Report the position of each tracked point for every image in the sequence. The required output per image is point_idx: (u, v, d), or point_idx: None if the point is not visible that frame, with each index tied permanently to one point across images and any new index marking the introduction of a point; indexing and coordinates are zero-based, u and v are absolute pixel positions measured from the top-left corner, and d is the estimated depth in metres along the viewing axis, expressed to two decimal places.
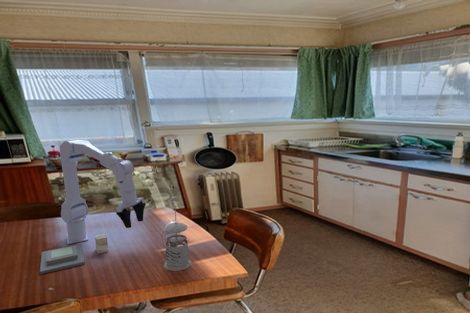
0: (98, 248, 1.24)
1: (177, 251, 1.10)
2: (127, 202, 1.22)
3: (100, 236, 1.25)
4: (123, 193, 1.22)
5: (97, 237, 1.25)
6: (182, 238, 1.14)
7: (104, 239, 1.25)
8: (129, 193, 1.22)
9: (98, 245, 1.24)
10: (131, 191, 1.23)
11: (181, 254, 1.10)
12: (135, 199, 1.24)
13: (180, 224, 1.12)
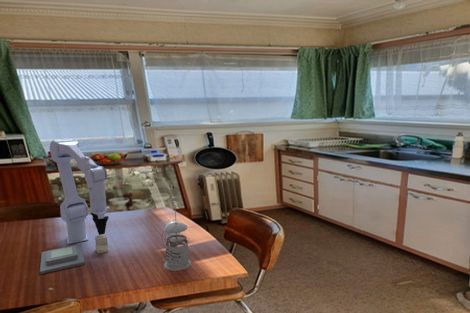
0: (98, 248, 1.24)
1: (177, 251, 1.10)
2: (102, 208, 1.22)
3: (100, 236, 1.25)
4: (98, 200, 1.21)
5: (97, 237, 1.25)
6: (182, 238, 1.14)
7: (104, 239, 1.25)
8: (104, 199, 1.23)
9: (98, 245, 1.24)
10: (105, 197, 1.24)
11: (181, 254, 1.10)
12: None
13: (180, 224, 1.12)
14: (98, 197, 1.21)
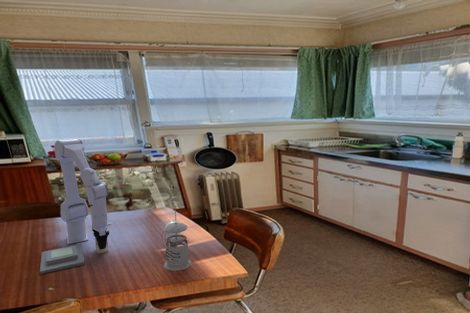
0: (98, 248, 1.24)
1: (177, 251, 1.10)
2: (103, 225, 1.23)
3: None
4: (100, 216, 1.22)
5: None
6: (182, 238, 1.14)
7: None
8: (105, 216, 1.24)
9: None
10: (106, 214, 1.25)
11: (181, 254, 1.10)
12: None
13: (180, 224, 1.12)
14: (99, 214, 1.22)
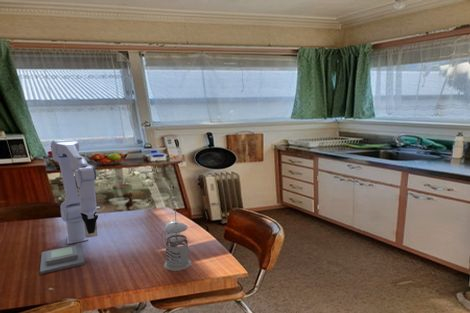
0: (87, 232, 1.21)
1: (177, 251, 1.10)
2: (92, 208, 1.21)
3: None
4: (88, 199, 1.20)
5: None
6: (182, 238, 1.14)
7: None
8: (94, 199, 1.21)
9: None
10: (95, 197, 1.22)
11: (181, 254, 1.10)
12: None
13: (180, 224, 1.12)
14: (86, 197, 1.19)
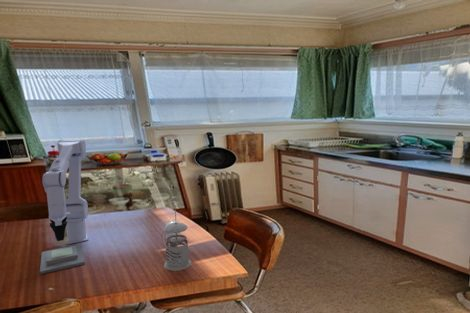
0: None
1: (177, 251, 1.10)
2: (60, 215, 1.16)
3: None
4: (57, 205, 1.15)
5: None
6: (182, 238, 1.14)
7: None
8: (63, 205, 1.16)
9: None
10: (64, 203, 1.17)
11: (181, 254, 1.10)
12: (66, 211, 1.19)
13: (180, 224, 1.12)
14: (50, 203, 1.14)
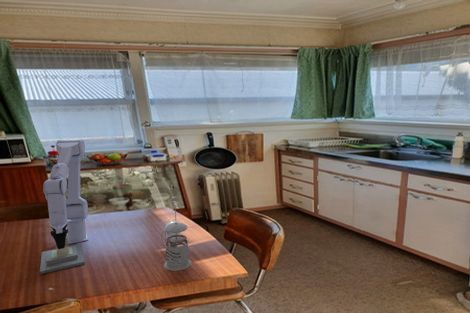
0: (58, 249, 1.17)
1: (177, 251, 1.10)
2: (61, 222, 1.16)
3: None
4: (57, 213, 1.15)
5: None
6: (182, 238, 1.14)
7: None
8: (64, 212, 1.17)
9: None
10: (65, 210, 1.18)
11: (181, 254, 1.10)
12: (67, 218, 1.19)
13: (180, 224, 1.12)
14: (51, 210, 1.14)
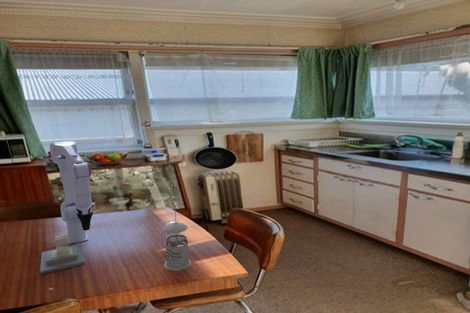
0: (58, 249, 1.17)
1: (177, 251, 1.10)
2: (86, 204, 1.23)
3: (60, 237, 1.18)
4: (83, 195, 1.21)
5: (57, 238, 1.18)
6: (182, 238, 1.14)
7: (64, 240, 1.18)
8: (89, 195, 1.23)
9: (58, 246, 1.17)
10: (90, 193, 1.24)
11: (181, 254, 1.10)
12: (91, 201, 1.26)
13: (180, 224, 1.12)
14: (81, 193, 1.21)
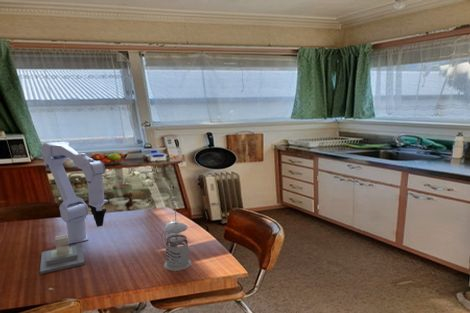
0: (58, 249, 1.17)
1: (177, 251, 1.10)
2: (100, 201, 1.26)
3: (60, 237, 1.18)
4: (97, 193, 1.25)
5: (57, 238, 1.18)
6: (182, 238, 1.14)
7: (64, 240, 1.18)
8: (102, 192, 1.27)
9: (58, 246, 1.17)
10: (103, 190, 1.28)
11: (181, 254, 1.10)
12: None
13: (180, 224, 1.12)
14: (97, 190, 1.25)
